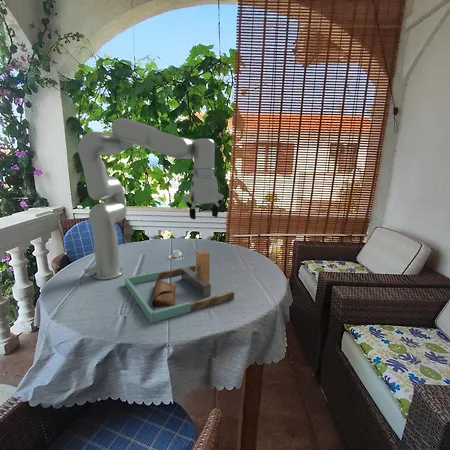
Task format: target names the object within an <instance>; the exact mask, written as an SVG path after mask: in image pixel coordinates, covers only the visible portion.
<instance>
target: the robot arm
mask: <svg viewBox="0 0 450 450" xmlns="http://www.w3.org/2000/svg"><path fill="white" fill-rule="evenodd" d="M110 130H111V133H108V132H103V131H102V132H101V131H90V132H86V134H83V136H81V138H80V140H79V142H78V146H77V151H78V155H79V156H78V157H79V159H80V162H81V165H82V169H83V170H82V171H83V175H84V179H85V185H86V188H87V193H88V196H89V197H90V198H91V199H92V200H94V201H103V200H104V202H101V203H98V204H96V205H93V206H92V207H91V209H90V210H89V213H88V219H89V222H90V226H91V229H92V237H93V238H92V239H93V245H94V247H93V249H94V257H95V264H93V265H94V266H92V267H88V268H86V267H85V268H84V269H83V271H84V272H83V273H84V274H88V275H91V274H92V277H93V279H96V280H102V281H103V280H105V281H106V280H112V279H116V278H119V277H121V276H123V274H124V269H123V267H120V254H119V241H118V240H119V239H118V238H119V237H118V232H117V230H116V227H115V225H114V224H115V223H117V222H120V221H122V220H124V219H125V217H126V215H127V204H126V198H125V193H124V188H123V185H122V183H121V181H120V180H119V179H118V178H117V177H116V176H111V175H108V173H107V167H106V164H105V162H104V161H103V159H102V157H101V155H112V156H113V155H119V154H120V153H123V152H124V151H126V150H127V149H128V150H129V148H131V147H133V146H134V145H136V146H138V147H141V148H144V149H147V150H150V151H152V152H156V153H158V154H161V155H164V156H168V157H171V158H173V159H177V160H179V159H181V160H189V159H190V160H191V159H194V160H193V163H194V164H193V169H192V170H191V171H190V173H191V175H192V174H193V176H192V179H191V184H190V192H189V193H188V194H186V195H183V197H182V200H183V203H184V204H185V205H186V206H187V207H188V209H189V218H190V219H192V220H196V214H197V213H196V207H197V205H206V204H212V206H211V210H212V211H211V215H212V216H211V217H214V218H218V214H219V207H220V205H221V204H222V203H223V200H224V198H225V195H224V194H222V193H220V192H219V185H218V179H217V176H215V148H216V147H215V141H214V140H213V139H211V138H196V139H191V138H187V137H181V136H177V135H174V134H171V133H168V132H164V131H162V130H158V129H157V128H156V127H155V126H152V125H149V124H145V123H141V122H140V121H138V120H137V121H136V120H135V119H134V120H133V119H130V118H125V117H119V118H116V119H115V120H114V121H113V122H112V124H111V128H110ZM189 199H190V201H191V202H190V201H189Z"/></svg>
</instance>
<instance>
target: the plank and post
mask: <svg viewBox="0 0 450 450" xmlns="http://www.w3.org/2000/svg"><path fill="white" fill-rule="evenodd" d="M210 254H211V253H210V251H207V250H206V249H203V250H198V251H195V266H196V271H194V272H193V271H192V270H191V269H189V268H188V266H186V267H187V268H183V267H182V268H183V269H181V274H180V275H181V279H182V280H183V281H184V282H185V283H186V284H187V285H188V286H190V287H191V288H192V289H193V290H194V291H196V292H197V293H198V294H199V295H201V297H203V298H205V297H206V298H207V297H209V296H210V297H211V295H212V294H211V293H212V291H211V290H212V289H211V288H212V284H211V283H210V264H211V263H210V259H211V258H210V257H211V255H210Z"/></svg>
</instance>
